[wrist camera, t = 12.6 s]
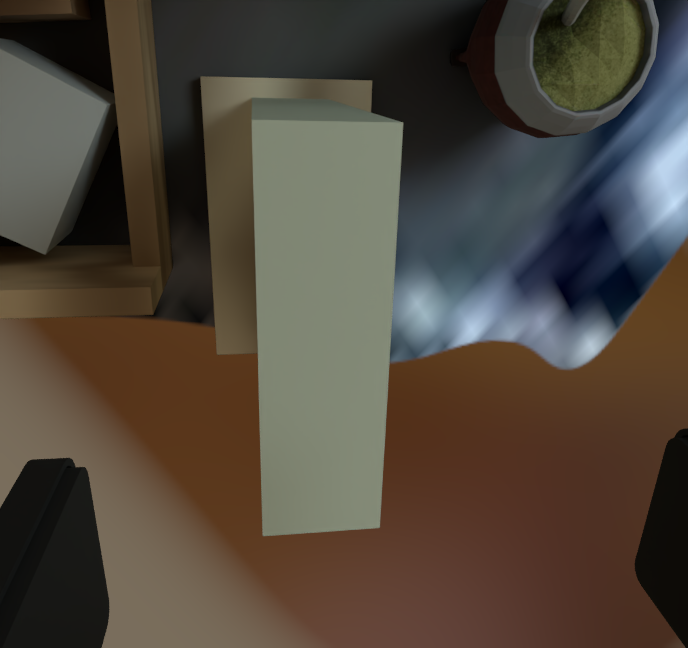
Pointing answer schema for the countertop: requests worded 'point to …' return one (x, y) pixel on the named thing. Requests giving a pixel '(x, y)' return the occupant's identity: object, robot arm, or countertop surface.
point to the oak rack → (141, 200)
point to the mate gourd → (559, 61)
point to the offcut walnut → (43, 10)
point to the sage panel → (323, 308)
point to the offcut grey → (47, 145)
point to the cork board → (245, 189)
